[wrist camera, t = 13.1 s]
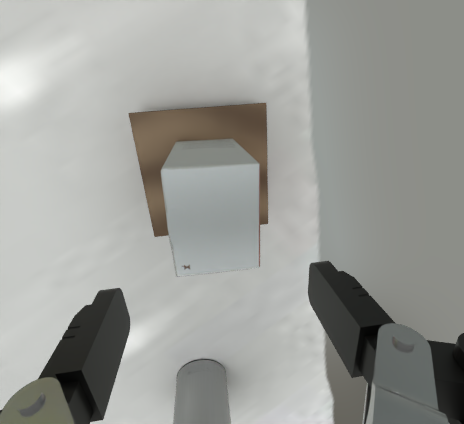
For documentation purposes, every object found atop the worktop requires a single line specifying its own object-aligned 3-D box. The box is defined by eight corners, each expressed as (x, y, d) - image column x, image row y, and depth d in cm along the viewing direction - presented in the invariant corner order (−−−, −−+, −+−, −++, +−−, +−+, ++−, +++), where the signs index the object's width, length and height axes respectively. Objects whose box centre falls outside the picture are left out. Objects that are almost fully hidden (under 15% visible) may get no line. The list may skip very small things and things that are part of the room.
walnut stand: (259, 208, 37) (268, 223, 33) (160, 219, 36) (154, 236, 31) (256, 102, 32) (266, 102, 27) (138, 111, 30) (128, 113, 26)
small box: (236, 206, 31) (261, 270, 19) (183, 210, 31) (174, 280, 19) (234, 136, 28) (261, 161, 16) (174, 139, 27) (156, 168, 15)
